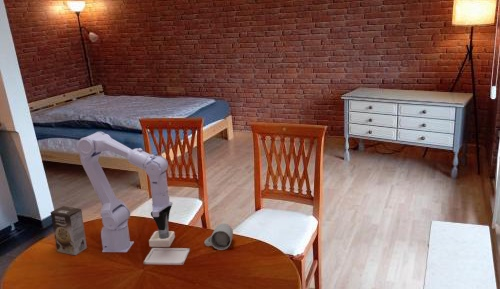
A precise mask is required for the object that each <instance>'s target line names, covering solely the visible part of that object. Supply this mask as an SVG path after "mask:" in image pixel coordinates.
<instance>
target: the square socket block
mask: <svg viewBox="0 0 500 289" xmlns="http://www.w3.org/2000/svg"><path fill="white" fill-rule="evenodd" d="M175 234H176V233H175V231H172V230H171V231H169V237H168V238H166V239H160V238H159V232H158V230H154V232H153V233H152V235H151V236H150V239H148V245H149V247H150V248H171V245H172V243H173V242H174V240H175V238H176V235H175Z"/></svg>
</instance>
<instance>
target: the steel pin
mask: <svg viewBox="0 0 500 289" xmlns="http://www.w3.org/2000/svg"><path fill="white" fill-rule="evenodd" d="M163 212H165V211H163ZM157 231H158V232H159V238H160V239H166V238H168V237H169V221H168V220H167V216H166V223H165V230H159V229H158V228H157Z"/></svg>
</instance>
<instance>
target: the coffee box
mask: <svg viewBox="0 0 500 289" xmlns="http://www.w3.org/2000/svg"><path fill="white" fill-rule="evenodd" d="M50 217H51V223H52V227H53V235H54V242H55V245H56V251H57V252H58V253H62V254H68V255H72V256H77V255H78V254H80V253H81V252H83V251H84V250H86V249H87V248H88V246H87V239H86V233H85V226H84V219H83V211H82V208H76V207H70V206H64V205H62V206H60V207H58V208H55V209H53V210H51V211H50Z"/></svg>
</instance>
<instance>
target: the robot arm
mask: <svg viewBox="0 0 500 289" xmlns="http://www.w3.org/2000/svg"><path fill="white" fill-rule="evenodd" d="M76 150H77V151H78V154H79V158H80V162H81V163H80V164H81V166H82V167H83V170H84V171H85V174H86V175H87V177H88V179H89V181H90V183H91V185H92V188H93V190H94V192H95V194H96V196H97V198H98V199H99V201H100V204H101V205H102V206H101V209H100V212H99V214H100V217H101V222H102V225H103V226H102V227H101V231H100V238H101V246H102V251H101V252H102V253H127V252H128V251H130V249H131V247H132V246H133V245H134V243H135V241H134V240H133V241H131V238H130V232H129V225H128V224H129V223H128V222H129V219H130V217H131V211H130V209H129V207H128V206H127V205H126V204H125V202H124V200H121V199H119V198H117V197H116V194H115V193H114V190H113V188H112V186H111V184H110V182H109V179H108V178H107V176H106V174H105V172H104V170H103V167H102V166H101V164H100V162H99V158H100V156H101V155H102V152H106V151H107V152H108V151H109V152H111V153H114V154H115V155H118V156H121V157H123V158H125V159H127V161H128V163H129V164H131V165H133V166H135V167H137V168H139V169H141V170H144V171H145V173H146V175H147V176H148V179H149V185H150V193H151V201H152V202H151V203H152V204H151V206H152V208H151V209H152V211H151V212H150V216H151V218H152V219H153V220H154V222H155V224H156V227H157V230H158V229H159V230H165V223H166V216H167V220H168V222H170V221H169V219H170V213H171V209H172V207H173V205H174V204H173V201H170V195H169V187H168V179H167V178H168V177H167V169H168V167H169V162H168V160H167V159H166V158H165V157H164V156H163V155H157V156H156V155H155V154H151V153H148V152H146V151H144V149H142V148H141V147H139V148H138V147H137V148H136V147H135V148H133V149H132V148H130V147H128V146H127V145H125V144H123V143H121V142H119V141H117V140H116V139H113V137H111V136H110V135H109V134H107V133H105V132H103V131H96V132H95V133H92V134H90V135H87V136H85V137H81V138H80V139H79V140H78V142H77V145H76ZM163 211H165V212H163Z"/></svg>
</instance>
